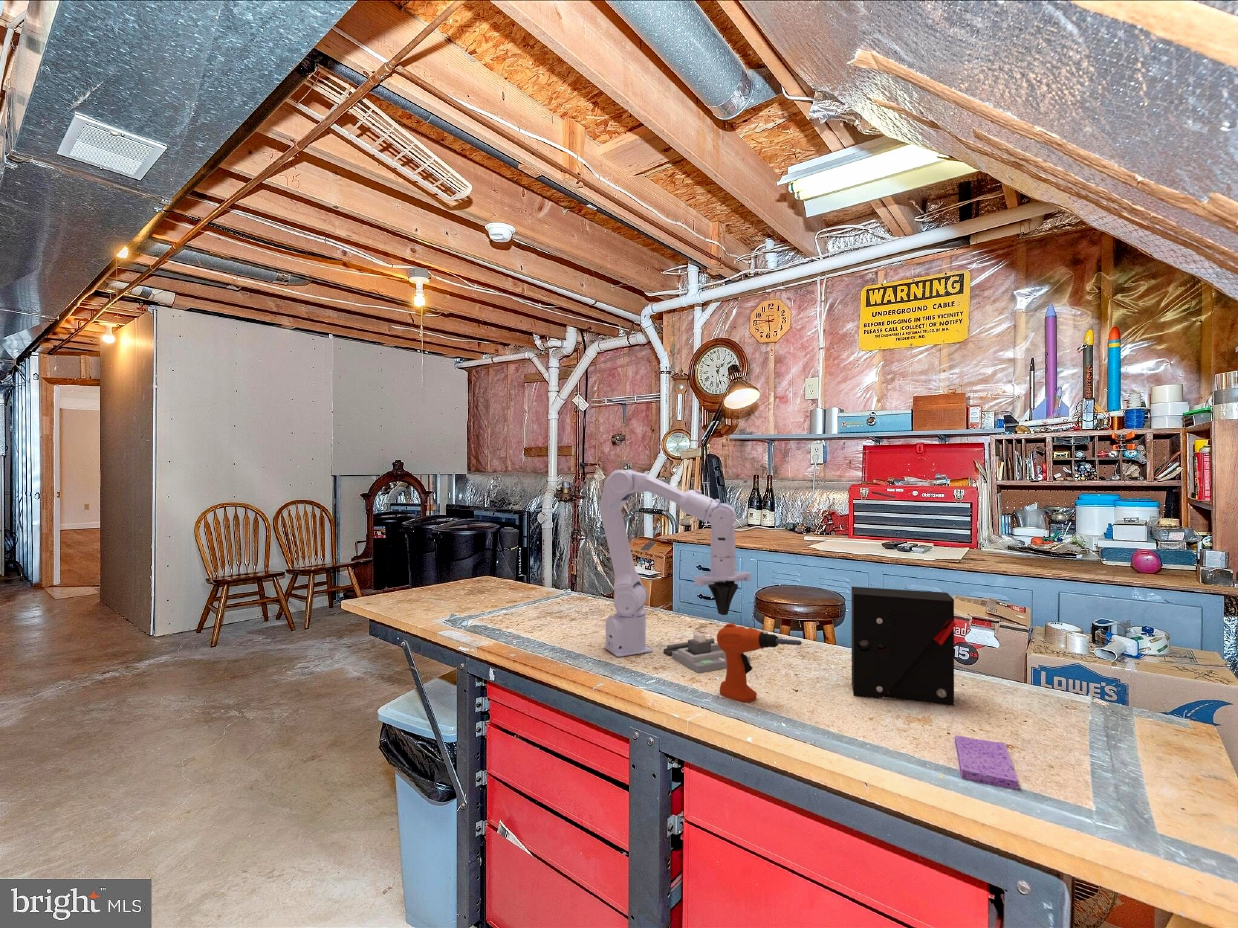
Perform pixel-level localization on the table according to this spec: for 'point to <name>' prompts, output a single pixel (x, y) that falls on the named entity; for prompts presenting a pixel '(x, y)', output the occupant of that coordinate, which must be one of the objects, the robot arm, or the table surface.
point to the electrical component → (903, 645)
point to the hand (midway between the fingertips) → (722, 613)
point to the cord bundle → (680, 646)
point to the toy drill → (743, 657)
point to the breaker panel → (703, 659)
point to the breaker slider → (699, 644)
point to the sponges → (985, 762)
